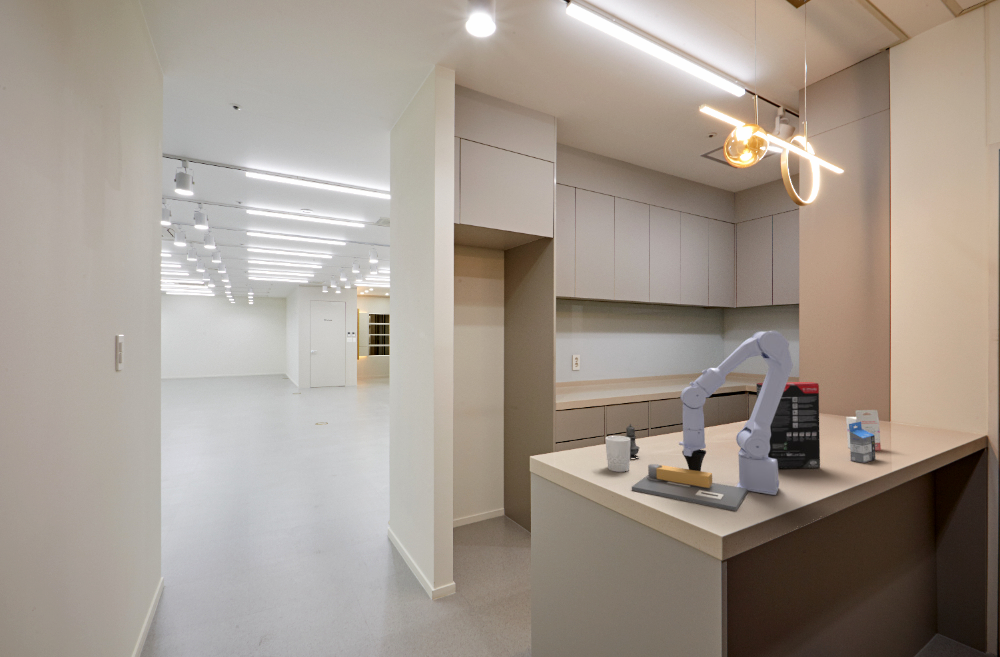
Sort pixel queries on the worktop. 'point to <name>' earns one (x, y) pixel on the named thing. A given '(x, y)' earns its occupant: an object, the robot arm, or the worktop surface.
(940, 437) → the worktop surface
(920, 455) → the worktop surface
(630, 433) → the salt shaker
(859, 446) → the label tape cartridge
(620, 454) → the white cup
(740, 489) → the label board
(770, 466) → the robot arm
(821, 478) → the worktop surface
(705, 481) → the swing bar
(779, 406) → the graphics card box
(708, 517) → the worktop surface
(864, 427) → the ink cartridge box
